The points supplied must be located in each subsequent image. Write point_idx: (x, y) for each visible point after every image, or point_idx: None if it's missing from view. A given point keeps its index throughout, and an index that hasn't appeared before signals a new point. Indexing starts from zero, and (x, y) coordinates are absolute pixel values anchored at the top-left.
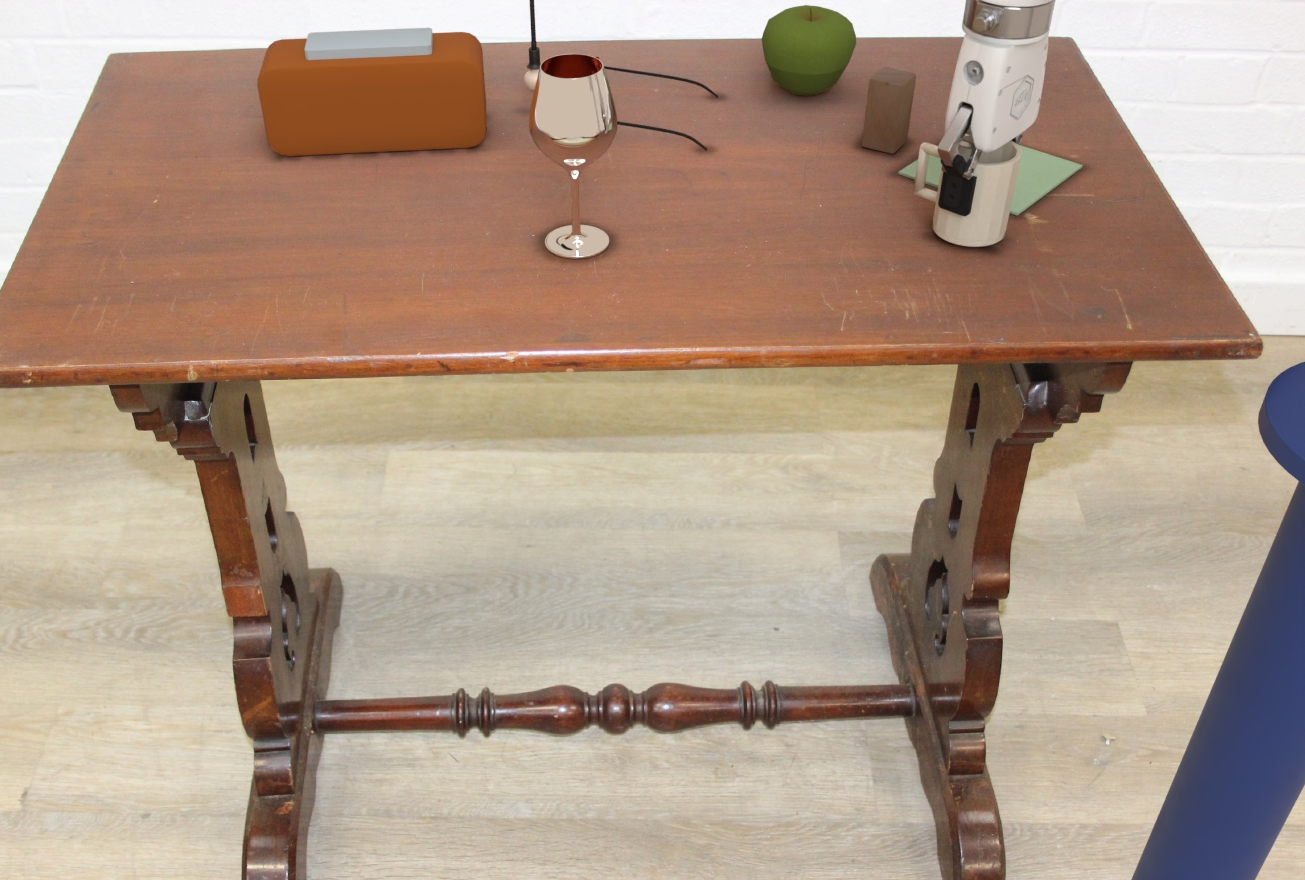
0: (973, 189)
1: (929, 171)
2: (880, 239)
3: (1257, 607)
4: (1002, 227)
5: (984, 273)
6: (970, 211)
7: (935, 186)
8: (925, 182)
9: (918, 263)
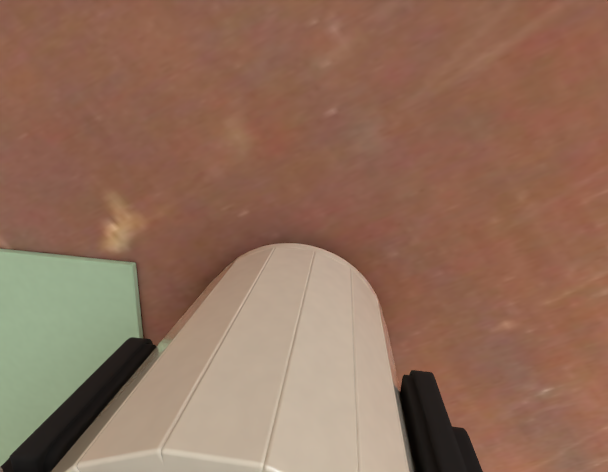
0: (453, 461)
1: None
2: None
3: None
4: (298, 259)
5: (449, 213)
6: (418, 375)
7: None
8: None
9: (485, 356)
